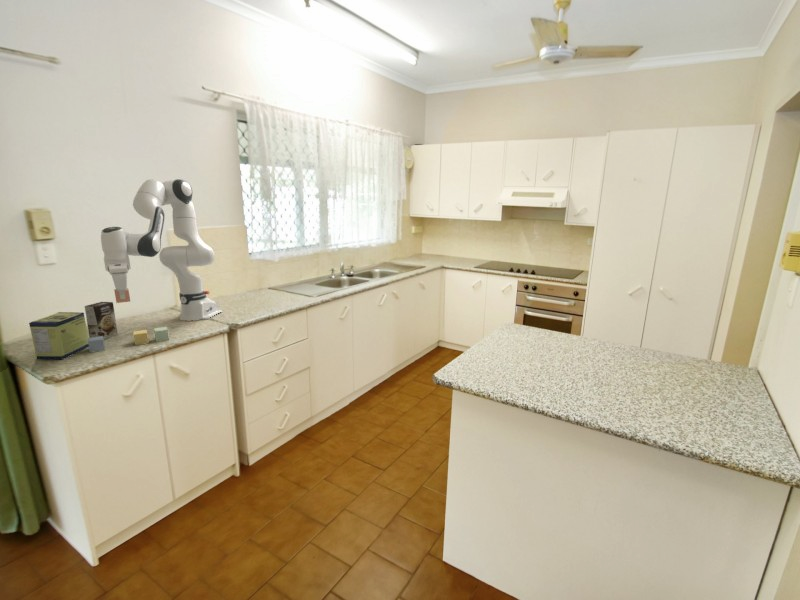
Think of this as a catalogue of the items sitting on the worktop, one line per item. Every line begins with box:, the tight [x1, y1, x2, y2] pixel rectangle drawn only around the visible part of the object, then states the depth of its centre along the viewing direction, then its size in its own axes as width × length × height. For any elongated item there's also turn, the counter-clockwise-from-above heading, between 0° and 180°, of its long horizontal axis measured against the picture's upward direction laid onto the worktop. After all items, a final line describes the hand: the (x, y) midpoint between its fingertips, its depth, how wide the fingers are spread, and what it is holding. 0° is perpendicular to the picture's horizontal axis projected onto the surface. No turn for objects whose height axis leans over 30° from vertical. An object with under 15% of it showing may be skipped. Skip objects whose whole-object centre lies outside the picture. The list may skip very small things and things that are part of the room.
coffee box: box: [84, 301, 119, 340], centre depth 184 cm, size 9×6×16 cm
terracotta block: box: [113, 287, 131, 304], centre depth 175 cm, size 5×5×5 cm
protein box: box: [28, 311, 89, 360], centre depth 166 cm, size 10×16×16 cm
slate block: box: [88, 336, 106, 353], centre depth 171 cm, size 5×5×5 cm
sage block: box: [153, 326, 170, 342], centre depth 185 cm, size 5×5×5 cm
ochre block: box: [132, 329, 149, 346], centre depth 180 cm, size 5×5×5 cm
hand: (122, 297), depth 175 cm, fingers closed on terracotta block, 5 cm apart
